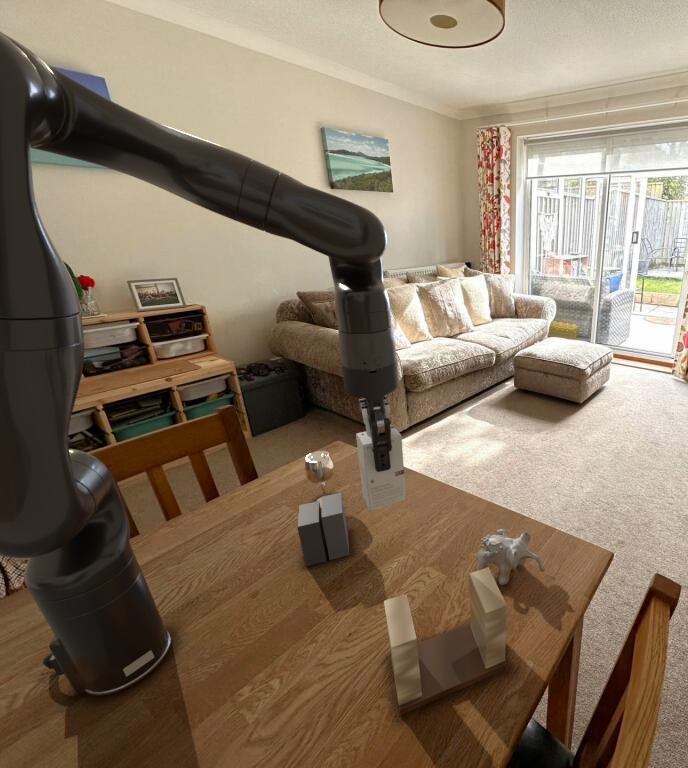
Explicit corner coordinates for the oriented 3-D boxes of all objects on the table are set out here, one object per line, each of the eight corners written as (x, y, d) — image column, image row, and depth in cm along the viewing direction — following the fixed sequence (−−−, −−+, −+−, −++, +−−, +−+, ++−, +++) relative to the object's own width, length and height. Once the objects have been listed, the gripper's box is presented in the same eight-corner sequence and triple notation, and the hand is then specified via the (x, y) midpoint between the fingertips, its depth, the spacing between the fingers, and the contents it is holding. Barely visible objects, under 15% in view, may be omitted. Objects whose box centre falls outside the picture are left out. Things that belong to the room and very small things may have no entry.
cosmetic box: (370, 513, 63) (361, 446, 58) (362, 497, 66) (353, 433, 62) (408, 499, 66) (402, 435, 62) (398, 485, 70) (392, 423, 65)
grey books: (306, 566, 74) (296, 523, 70) (307, 543, 80) (298, 501, 76) (349, 554, 77) (342, 512, 73) (347, 532, 82) (341, 492, 79)
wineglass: (345, 499, 92) (337, 454, 88) (322, 513, 88) (313, 466, 83) (329, 490, 95) (321, 446, 91) (306, 504, 90) (297, 458, 86)
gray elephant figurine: (481, 550, 79) (480, 519, 76) (542, 553, 78) (544, 522, 76) (474, 590, 70) (474, 556, 67) (543, 594, 70) (545, 560, 67)
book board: (400, 715, 52) (391, 651, 48) (391, 658, 59) (383, 597, 54) (506, 669, 58) (508, 608, 53) (487, 622, 65) (487, 564, 60)
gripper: (338, 347, 62) (352, 444, 68) (344, 378, 50) (360, 492, 56) (388, 343, 65) (397, 436, 71) (405, 371, 53) (414, 480, 59)
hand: (380, 460), depth 64 cm, fingers closed on cosmetic box, 4 cm apart
